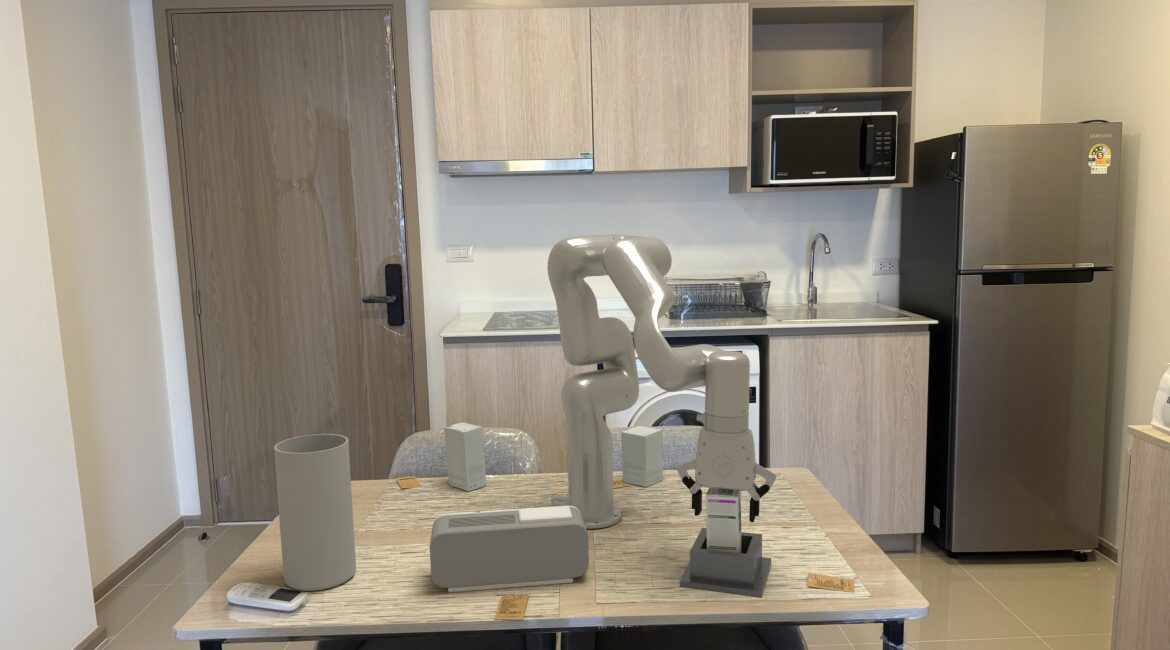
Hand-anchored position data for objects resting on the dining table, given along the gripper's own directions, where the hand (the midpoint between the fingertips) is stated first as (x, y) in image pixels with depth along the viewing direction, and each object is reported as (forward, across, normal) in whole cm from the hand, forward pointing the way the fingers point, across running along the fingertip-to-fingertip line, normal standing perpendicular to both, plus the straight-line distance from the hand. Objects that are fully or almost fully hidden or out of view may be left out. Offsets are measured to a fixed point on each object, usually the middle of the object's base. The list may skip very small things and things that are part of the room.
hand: (725, 516), depth 143 cm
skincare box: (+12, -68, +31) cm, 75 cm away
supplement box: (+12, -28, +46) cm, 55 cm away
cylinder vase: (+12, -70, -22) cm, 74 cm away
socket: (+11, 0, 0) cm, 11 cm away
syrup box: (+10, 0, 0) cm, 10 cm away
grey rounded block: (+12, -36, -12) cm, 40 cm away
